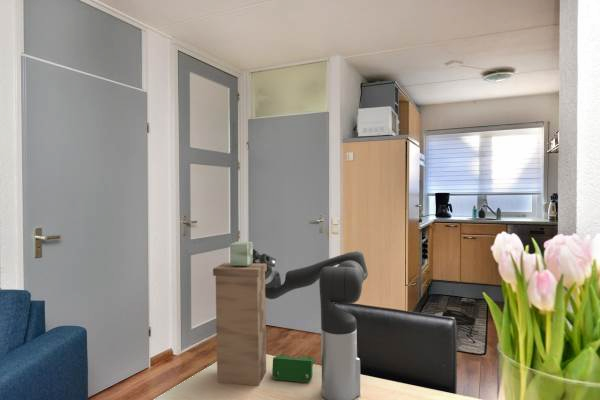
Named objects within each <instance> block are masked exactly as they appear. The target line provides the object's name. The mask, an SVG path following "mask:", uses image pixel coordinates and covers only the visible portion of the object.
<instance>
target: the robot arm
mask: <svg viewBox="0 0 600 400" xmlns="http://www.w3.org/2000/svg"><path fill="white" fill-rule="evenodd" d="M253 258H254V259H253V263H267V271H265V299H268V300H275V299H278V298H279V297H281V296H283V295H286V294H287V293H289V292H291V291H294V290H297V289H302V288H306V287H308V286H311V285H313V284H315V283H317V281H318V280H319V281H318V283H319V300H320V301H319V302H320V334H321V335H320V338H321V339H320V340H321V341H320V342H321V350H320V351H321V353H320V355H321V395H322V397H323V398H324V399H326V400H355V399H356V398H357V397H360V396H361V359H360V358H359V357H358V346H357V345H358V343H357V340H358V339H357V338H358V337H357V334H358V333H357V331H358V330H357V327H358V326H357V325H358V323H357V319H356V317H355V316H354V315H353V314H352V313H350V312H347V311H344V310H342V309H340V308H339V307H338V306H337V305H335V303H336V304H354V303H357V302H358V301H359V300H360V298H361V296H362V295H361V294H362V291H363V283H364V281H365V280H367V278H368V275H369V273H368V272H369V271H368V268H367V263H366V260H365V257H364V254H363V252H361V251H351V252H345V253H343V254H341V255H337V256H334V257H331V258H328V259H325V260H322V261H319V262H317V263H315V264H311V265H308V266H305V267H299V268H296V269H293V270H288V271H287V272H286V273H285V278H284V282H283V283H282V280H281V278H282V277H281V275H280V272H279V271H278V270H274V267H276V260H277V259H276V258H274V257H272V256H270V255H268V254H267V253H262V254H261V253H260V252H258V250H256V248H253Z"/></svg>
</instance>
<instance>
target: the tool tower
mask: <svg viewBox="0 0 600 400" xmlns="http://www.w3.org/2000/svg"><path fill="white" fill-rule="evenodd" d="M265 271H267V263H251V264H249V265H248V266H241V265H231V263H230V262H223V263H222V264H219V265H217V266H216V267H214V268H212V277H213V276H214V277H215V312H216V313H215V314H216V317H215V318H216V321H215V323H216V324H215V325H216V327H215V328H216V375H217V377H216V379H217V383H220V384H222V383H223V384H224V383H225V384H234V385H235V384H237V385H249V386H260V384H261V382H262V380H263V379H264V377H265V375H266V373H267V331H266V330H267V329H266V321H267V320H266V317H267V316H266V297H265Z"/></svg>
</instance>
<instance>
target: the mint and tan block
mask: <svg viewBox="0 0 600 400" xmlns="http://www.w3.org/2000/svg"><path fill="white" fill-rule="evenodd" d="M229 246H230V247H229V249H230V251H229V253H230V254H229V255H230V262H229V263H231V265H241V266H248V265H249V264H251V263H253V259H254V258H253V249H254V247H253V241H235V242H232V243H229Z"/></svg>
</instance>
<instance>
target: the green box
mask: <svg viewBox="0 0 600 400" xmlns="http://www.w3.org/2000/svg"><path fill="white" fill-rule="evenodd" d="M314 365H315V357H311V356H304V357H291V356H290V355H288V354H287V355H286V354H277V355H276V356H273V358H272V367H271V368H272V369H271V370H272V372H271V376H272V378H273V379H275V380H278V381H288V382H299V383H309V382H310V381H311V380H312V379H313V370H314V369H313V366H314Z"/></svg>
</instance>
